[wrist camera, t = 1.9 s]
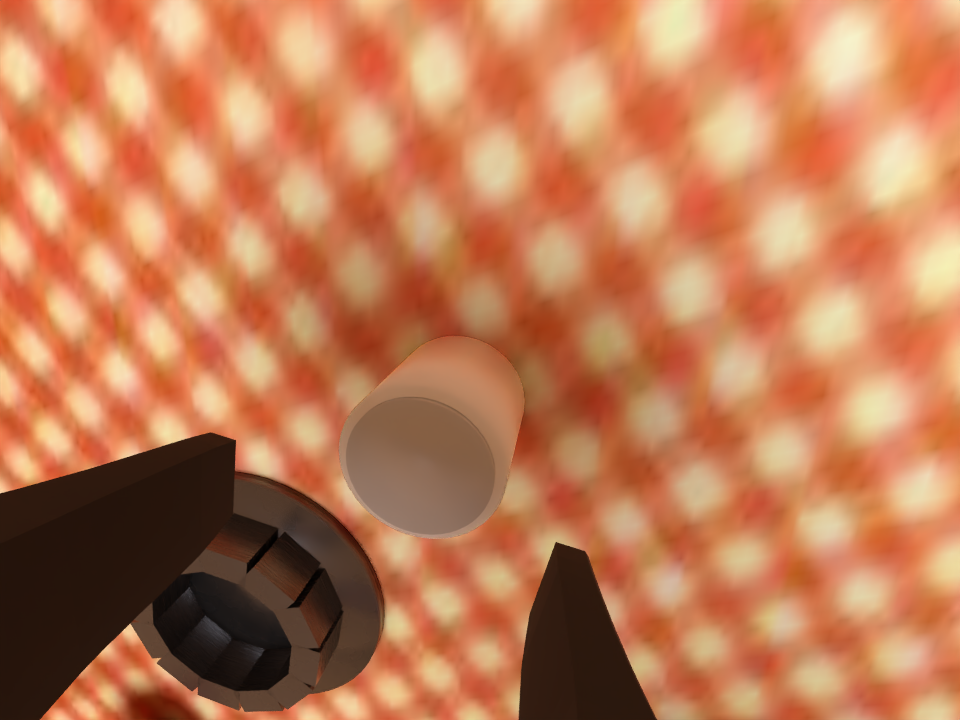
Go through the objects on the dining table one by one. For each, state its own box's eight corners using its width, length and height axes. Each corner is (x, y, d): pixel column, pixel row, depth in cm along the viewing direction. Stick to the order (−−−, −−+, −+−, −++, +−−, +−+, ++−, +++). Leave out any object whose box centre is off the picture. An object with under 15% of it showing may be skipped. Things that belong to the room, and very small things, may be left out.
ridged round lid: (404, 523, 19) (379, 571, 16) (364, 713, 23) (340, 774, 21) (138, 436, 20) (78, 470, 18) (148, 633, 24) (101, 681, 22)
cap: (540, 356, 15) (526, 419, 11) (506, 471, 17) (483, 564, 13) (408, 319, 16) (345, 366, 12) (388, 434, 18) (326, 513, 13)
